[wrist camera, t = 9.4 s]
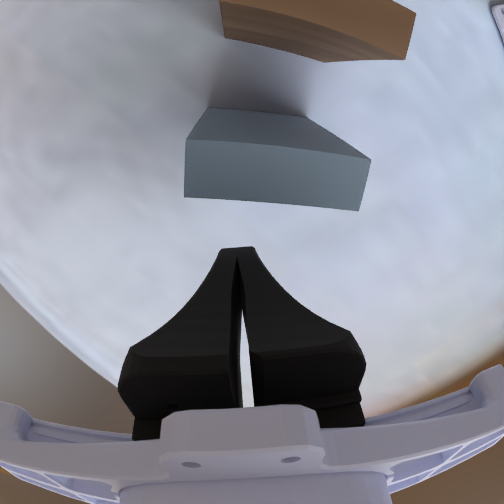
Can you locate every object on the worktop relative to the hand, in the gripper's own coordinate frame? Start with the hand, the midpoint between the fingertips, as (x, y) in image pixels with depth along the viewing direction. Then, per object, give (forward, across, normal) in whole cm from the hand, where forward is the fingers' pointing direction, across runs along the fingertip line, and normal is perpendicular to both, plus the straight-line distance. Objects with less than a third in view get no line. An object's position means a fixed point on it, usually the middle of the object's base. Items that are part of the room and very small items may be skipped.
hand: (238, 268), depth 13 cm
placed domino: (+5, -1, -5) cm, 7 cm away
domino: (+5, -3, -10) cm, 11 cm away
